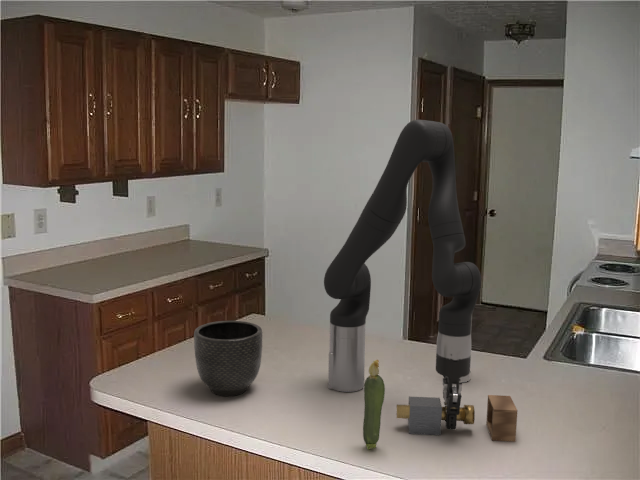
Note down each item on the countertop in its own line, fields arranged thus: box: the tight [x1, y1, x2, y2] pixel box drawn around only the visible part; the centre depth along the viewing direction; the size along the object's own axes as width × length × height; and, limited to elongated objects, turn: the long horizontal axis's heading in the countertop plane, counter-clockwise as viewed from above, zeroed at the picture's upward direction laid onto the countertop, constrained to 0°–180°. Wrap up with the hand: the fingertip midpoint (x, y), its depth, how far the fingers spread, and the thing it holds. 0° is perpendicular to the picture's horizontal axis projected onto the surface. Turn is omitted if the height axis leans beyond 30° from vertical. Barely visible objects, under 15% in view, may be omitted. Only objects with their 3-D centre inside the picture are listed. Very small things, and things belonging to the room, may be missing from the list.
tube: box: [396, 404, 476, 425], centre depth 153 cm, size 17×4×4 cm, turn 85°
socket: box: [485, 394, 518, 443], centre depth 152 cm, size 5×8×7 cm, turn 175°
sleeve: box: [407, 396, 443, 436], centre depth 153 cm, size 7×5×7 cm
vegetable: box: [362, 359, 386, 450], centre depth 143 cm, size 4×4×20 cm
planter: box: [193, 320, 263, 397], centre depth 174 cm, size 17×17×16 cm
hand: (450, 424), depth 153 cm, fingers closed on tube, 3 cm apart
